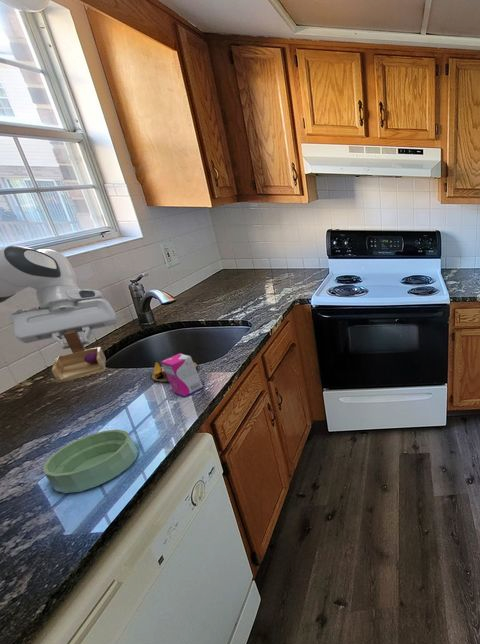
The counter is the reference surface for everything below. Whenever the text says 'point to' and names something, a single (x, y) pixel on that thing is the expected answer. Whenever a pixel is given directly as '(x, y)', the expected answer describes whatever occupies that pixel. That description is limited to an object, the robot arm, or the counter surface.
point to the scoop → (77, 360)
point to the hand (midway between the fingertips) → (76, 345)
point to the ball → (91, 358)
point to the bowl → (90, 461)
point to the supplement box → (182, 375)
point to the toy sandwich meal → (161, 373)
